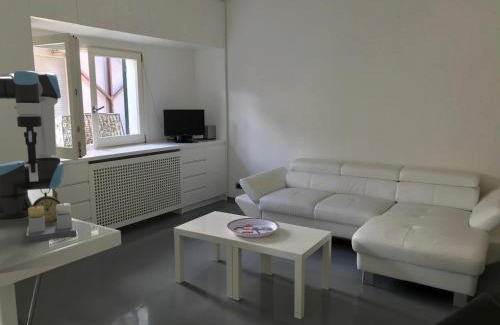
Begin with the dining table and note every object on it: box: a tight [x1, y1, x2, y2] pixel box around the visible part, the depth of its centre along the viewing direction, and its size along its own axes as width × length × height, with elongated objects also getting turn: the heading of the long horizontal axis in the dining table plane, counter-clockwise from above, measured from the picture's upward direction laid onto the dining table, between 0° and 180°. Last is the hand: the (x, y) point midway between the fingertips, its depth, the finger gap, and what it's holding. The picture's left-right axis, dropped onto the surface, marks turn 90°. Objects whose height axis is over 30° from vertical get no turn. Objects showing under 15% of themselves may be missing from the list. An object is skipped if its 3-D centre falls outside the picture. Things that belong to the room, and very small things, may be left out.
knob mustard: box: [28, 206, 44, 218], centre depth 145 cm, size 5×5×8 cm
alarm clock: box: [32, 186, 62, 224], centre depth 157 cm, size 11×5×16 cm, turn 119°
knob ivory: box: [56, 202, 72, 215], centre depth 149 cm, size 5×5×8 cm
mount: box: [25, 211, 77, 243], centre depth 147 cm, size 14×16×7 cm
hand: (34, 180), depth 143 cm, fingers closed
